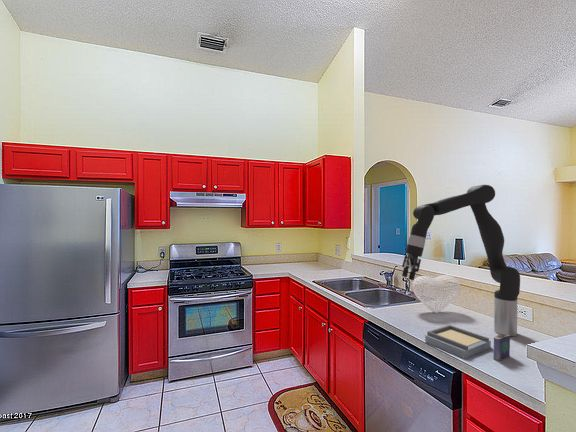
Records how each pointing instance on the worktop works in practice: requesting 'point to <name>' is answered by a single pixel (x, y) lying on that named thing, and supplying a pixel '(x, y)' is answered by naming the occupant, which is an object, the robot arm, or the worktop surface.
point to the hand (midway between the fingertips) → (407, 278)
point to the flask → (501, 346)
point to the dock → (457, 341)
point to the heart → (436, 291)
